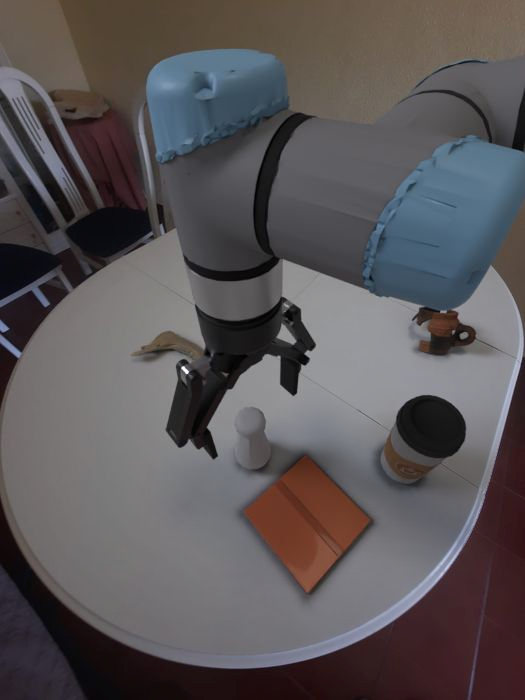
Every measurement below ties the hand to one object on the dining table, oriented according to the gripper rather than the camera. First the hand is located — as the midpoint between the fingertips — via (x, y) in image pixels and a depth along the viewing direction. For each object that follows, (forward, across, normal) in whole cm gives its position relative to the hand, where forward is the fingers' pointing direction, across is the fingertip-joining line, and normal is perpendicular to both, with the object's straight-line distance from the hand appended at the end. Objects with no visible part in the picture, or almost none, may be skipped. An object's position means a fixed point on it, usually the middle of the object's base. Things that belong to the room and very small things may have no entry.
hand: (251, 417), depth 45 cm
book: (+14, 0, +12) cm, 18 cm away
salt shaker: (+14, 0, 0) cm, 14 cm away
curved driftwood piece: (+13, -1, -24) cm, 28 cm away
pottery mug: (+14, -45, +6) cm, 47 cm away
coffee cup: (+14, -17, +16) cm, 27 cm away
